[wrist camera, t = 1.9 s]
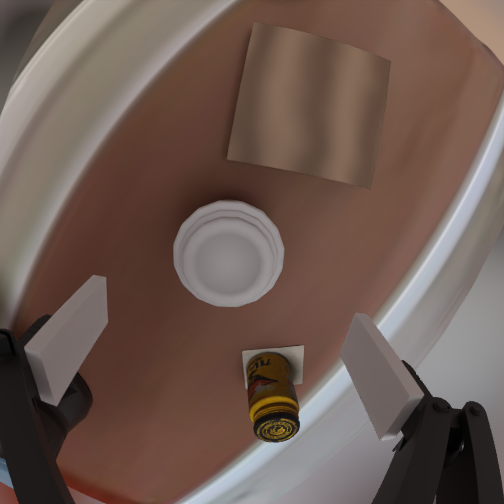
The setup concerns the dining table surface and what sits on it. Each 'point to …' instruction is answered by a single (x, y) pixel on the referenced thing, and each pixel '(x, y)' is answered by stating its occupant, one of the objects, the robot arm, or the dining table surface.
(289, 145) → the base slab
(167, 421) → the dining table surface
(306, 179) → the dining table surface
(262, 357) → the condiment
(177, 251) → the coffee cup
